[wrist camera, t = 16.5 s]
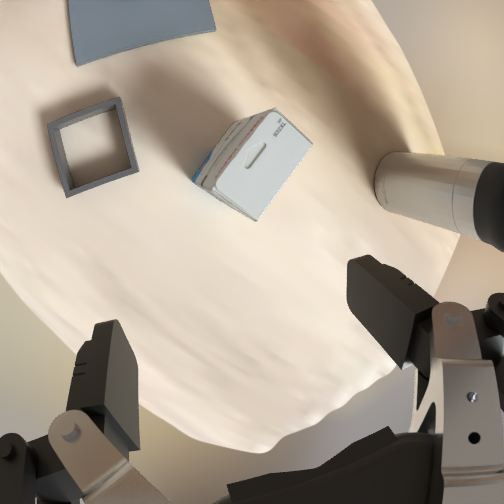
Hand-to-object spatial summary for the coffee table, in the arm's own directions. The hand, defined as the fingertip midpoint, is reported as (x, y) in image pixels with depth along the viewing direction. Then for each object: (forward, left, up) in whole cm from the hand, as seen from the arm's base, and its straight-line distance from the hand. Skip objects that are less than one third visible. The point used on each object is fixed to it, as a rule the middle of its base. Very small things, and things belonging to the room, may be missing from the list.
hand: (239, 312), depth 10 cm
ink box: (-7, -3, -27) cm, 28 cm away
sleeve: (+7, -9, -27) cm, 29 cm away
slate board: (-1, -27, -27) cm, 38 cm away
